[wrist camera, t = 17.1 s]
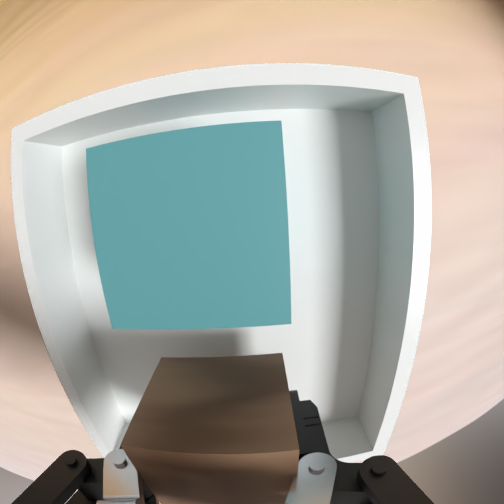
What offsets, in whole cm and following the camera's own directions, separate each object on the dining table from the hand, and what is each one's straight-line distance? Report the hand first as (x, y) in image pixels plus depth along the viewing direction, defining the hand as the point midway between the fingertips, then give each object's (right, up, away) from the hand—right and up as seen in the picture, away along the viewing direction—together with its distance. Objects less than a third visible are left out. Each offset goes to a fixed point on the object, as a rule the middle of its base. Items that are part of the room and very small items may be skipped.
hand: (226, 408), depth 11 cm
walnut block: (0, 0, +1) cm, 1 cm away
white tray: (0, +5, +2) cm, 5 cm away
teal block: (-1, +8, +1) cm, 8 cm away
